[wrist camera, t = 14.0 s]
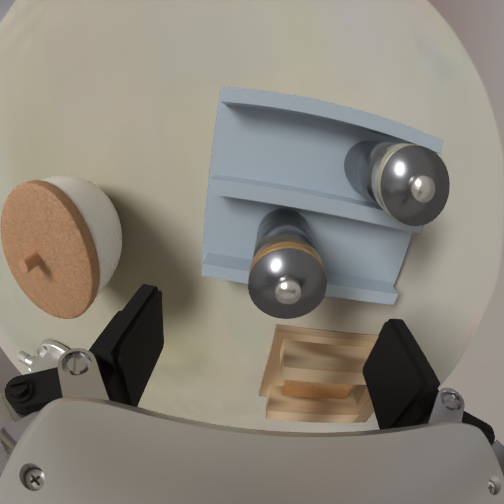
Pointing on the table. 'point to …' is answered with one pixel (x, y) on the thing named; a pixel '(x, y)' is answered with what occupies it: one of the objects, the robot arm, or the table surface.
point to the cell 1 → (286, 267)
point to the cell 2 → (399, 179)
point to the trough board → (302, 189)
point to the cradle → (317, 374)
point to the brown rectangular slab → (316, 389)
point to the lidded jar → (61, 242)
